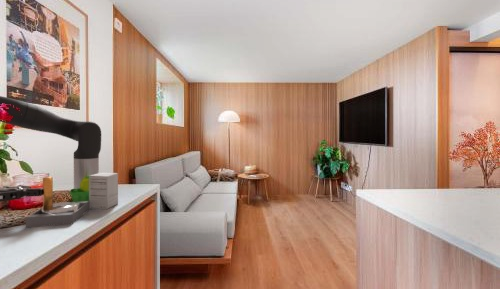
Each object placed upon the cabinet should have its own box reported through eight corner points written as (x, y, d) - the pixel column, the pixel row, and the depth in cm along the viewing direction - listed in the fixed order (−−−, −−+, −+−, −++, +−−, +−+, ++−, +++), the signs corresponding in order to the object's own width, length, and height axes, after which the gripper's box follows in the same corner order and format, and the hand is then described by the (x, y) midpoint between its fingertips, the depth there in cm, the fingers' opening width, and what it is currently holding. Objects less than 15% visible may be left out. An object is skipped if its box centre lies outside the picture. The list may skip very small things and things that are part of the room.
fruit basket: (103, 197, 108) (103, 172, 107) (103, 202, 100) (103, 175, 100) (71, 201, 102) (71, 174, 101) (69, 206, 94) (69, 177, 94)
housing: (51, 211, 88) (51, 197, 88) (89, 208, 92) (89, 195, 92) (25, 227, 73) (25, 210, 73) (72, 224, 76) (72, 208, 76)
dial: (66, 206, 89) (66, 172, 88) (86, 209, 85) (86, 174, 85) (33, 214, 79) (33, 176, 79) (54, 218, 76) (54, 179, 75)
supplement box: (100, 203, 100) (100, 172, 99) (118, 203, 99) (118, 172, 99) (88, 208, 92) (88, 175, 92) (107, 209, 92) (107, 175, 92)
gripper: (-47, 186, 66) (30, 184, 71) (-11, 178, 79) (53, 176, 84) (-47, 214, 66) (31, 209, 71) (-11, 201, 79) (53, 198, 84)
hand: (42, 191), depth 78 cm, fingers closed
